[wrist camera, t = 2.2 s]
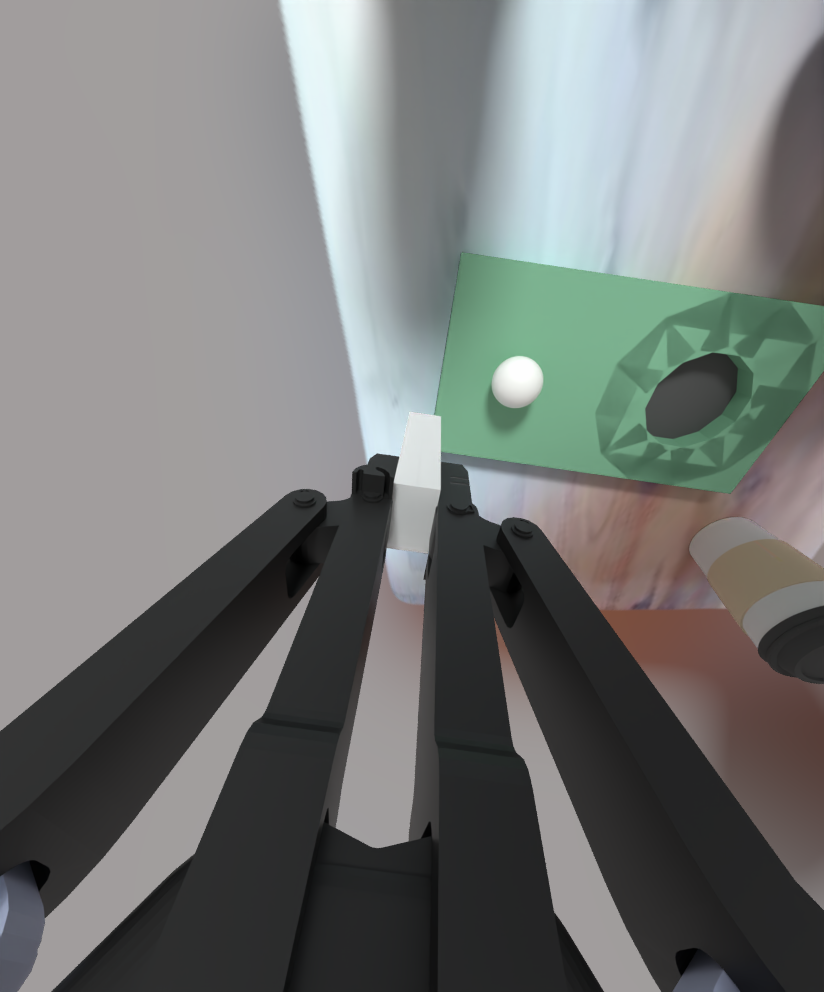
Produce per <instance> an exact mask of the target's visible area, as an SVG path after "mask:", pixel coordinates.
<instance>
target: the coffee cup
mask: <svg viewBox="0 0 824 992" xmlns="http://www.w3.org/2000/svg"><path fill="white" fill-rule="evenodd" d="M689 552H690V554H691V556H692V557H693V559H694V560H695V561H696V563H697V564H698V566H699V567H700V568H701V570H702V571H703V573H704V574H705V575H706V577H707V579H708V582H709V584H710V585H711V587H712V588H713V590H714V591H715V592H716V594H717V595H718V597H719V598H720V600H721V601H722V602H723V604H724V605H725V607H726V608H727V609H728V611H729V612H730V614H731V615H732V617H733V618H734V619H735V621H736V622H737V623H738V625H739V626H740V628H741V629H742V631H743V632H744V633H745V634H746V635H748V636H749V637H750V638H751V640H752V641H753V643H754V644H755V645H756V647H757V648H758V653H759V655H760V657H761V658H762V659H763V660H764V661H766V662H768V664H769V665H770V666H771V668H772V669H773V670H775V671H776V672H778V673H780V674H783V675H786V676H790V677H797V678H799V679H801V680H803V681H805V682H810V683H816V684H824V568H823V567H821V566H820V565H818V564H817V563H815V562H814V561H812V560H811V559H810V558H808V557H807V556H805V555H804V554H802V553H801V552H799V551H798V550H796V549H795V548H794V547H792V546H791V545H789V544H788V543H786V542H784V541H781V540H779V539H778V538H776V537H775V536H773V535H772V534H771V533H769V532H768V531H766V530H765V529H763V528H762V527H760V526H759V525H758V524H756V523H755V522H753V521H752V520H750V519H747V518H743V517H731V518H725V519H721V520H718V521H716V522H713V523H711V524H709V525H707V526H706V527H704V528H703V529H701V530H700V531H699V532H698V533H697V534H696V535H695V536H694V538H693V539H692V541H691V543H690V546H689Z"/></svg>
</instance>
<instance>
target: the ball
mask: <svg viewBox="0 0 824 992" xmlns="http://www.w3.org/2000/svg"><path fill="white" fill-rule="evenodd" d="M542 387H543V373H542V370H541V368H540V367H539V365H538V364H537V363H536V362H535V361H534V360H532V359H531V358H528V357H525V356H515V357H511V358H509V359H507V360H505V361H503V362H502V363H501V364H500V365H499V366H498V367H497V369H496V370H495V372H494V374H493V377H492V391H493V394H494V396H495V398H496V399H497V401H498V402H499V403H501V404H502V405H504V406H506V407H509V408H521V407H525V406H527V405H529V404H530V403H532V402H533V401H534V400H535V399H536V398H537V397H538V395H539V394H540V392H541V390H542Z"/></svg>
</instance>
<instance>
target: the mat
mask: <svg viewBox="0 0 824 992" xmlns="http://www.w3.org/2000/svg"><path fill="white" fill-rule="evenodd" d="M515 356H525V357H528V358H531V359H532V360H534V361H535V362H536V363H537V364H538V365H539V367H540V368H541V370H542V373H543V387H542V390H541V392H540V394H539V395H538V397H537V398H536V399H535V400H534V401H533V402H532V403H530V404H529V405H527V406H525V407H521V408H509V407H506V406H504V405H502V404H501V403H499V402H498V401H497V399H496V398H495V396H494V394H493V391H492V377H493V374H494V372H495V370H496V369H497V367H498V366H499V365H500V364H501V363H502V362H503V361H505V360H507V359H509V358H511V357H515ZM823 371H824V306H820V305H813V304H806V303H799V302H793V301H786V300H779V299H772V298H766V297H759V296H752V295H746V294H739V293H732V292H725V291H719V290H712V289H705V288H698V287H692V286H685V285H678V284H671V283H665V282H658V281H651V280H645V279H638V278H631V277H624V276H618V275H611V274H604V273H597V272H591V271H584V270H577V269H571V268H564V267H557V266H550V265H544V264H537V263H530V262H523V261H517V260H510V259H503V258H496V257H490V256H483V255H476V254H470V253H463V252H462V253H461V257H460V263H459V269H458V275H457V281H456V287H455V293H454V299H453V305H452V311H451V317H450V323H449V329H448V335H447V341H446V347H445V354H444V360H443V366H442V372H441V378H440V384H439V390H438V396H437V402H436V408H435V414H434V415H436V416H441V452H446V453H453V454H460V455H466V456H473V457H480V458H487V459H494V460H501V461H508V462H515V463H522V464H528V465H535V466H542V467H549V468H556V469H563V470H570V471H577V472H583V473H590V474H597V475H604V476H611V477H618V478H625V479H632V480H639V481H645V482H652V483H659V484H666V485H673V486H680V487H687V488H694V489H701V490H707V491H714V492H721V493H728V494H731V492H732V491H733V490H734V488H735V487H736V486H737V484H738V483H739V482H740V481H741V479H742V478H743V477H744V475H745V474H746V473H747V471H748V470H749V469H750V467H751V466H752V465H753V463H754V462H755V461H756V460H757V458H758V457H759V456H760V454H761V453H762V452H763V450H764V449H765V448H766V446H767V445H768V444H769V442H770V441H771V440H772V439H773V437H774V436H775V435H776V433H777V432H778V431H779V429H780V428H781V427H782V425H783V424H784V423H785V421H786V420H787V419H788V417H789V416H790V415H791V414H792V412H793V411H794V410H795V408H796V407H797V406H798V404H799V403H800V402H801V400H802V399H803V398H804V396H805V395H806V394H807V393H808V391H809V390H810V389H811V387H812V386H813V385H814V383H815V382H816V381H817V379H818V378H819V377H820V375H821V374H822V373H823Z"/></svg>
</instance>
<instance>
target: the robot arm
mask: <svg viewBox="0 0 824 992" xmlns="http://www.w3.org/2000/svg"><path fill="white" fill-rule="evenodd" d="M352 473H353V474H352V494H351V497H350V498H348V499H346V500H341V501H329V502H327V501H326V497H325V496H324V494H323V493H320V492H319V491H316V490H311V489H300V490H296V491H293V492H291V493H289V494H287V495H286V496H284V497H283V498H282V499H281V500H279V501H278V502H277V503H276V504H275V505H273V506H272V507H271V508H270V509H269V510H267V511H266V512H265V513H264V514H263V515H262V516H260V517H259V518H258V519H256V520H255V521H254V522H253V523H252V524H250V525H249V526H248V527H247V528H246V529H245V530H243V531H242V532H241V533H240V534H239V535H237V536H236V537H235V538H234V539H232V540H231V541H230V542H229V543H227V544H226V545H225V546H224V547H223V548H221V549H220V550H219V551H218V552H217V553H216V554H214V555H213V556H212V557H211V558H209V559H208V560H207V561H206V562H204V563H203V564H202V565H201V566H200V567H198V568H197V569H196V570H195V571H194V572H192V573H191V574H190V575H189V576H188V577H186V578H185V579H184V580H183V581H182V582H180V583H179V584H178V585H177V586H175V587H174V588H173V589H172V590H171V591H169V592H168V593H167V594H166V595H165V596H163V597H162V598H161V599H160V600H159V601H157V602H156V603H155V604H154V605H152V606H151V607H150V608H149V609H148V610H146V611H145V612H144V613H143V614H142V615H140V616H139V617H138V618H137V619H136V620H134V621H133V622H132V623H131V624H129V625H128V626H127V627H126V628H125V629H123V630H122V631H121V632H120V633H119V634H117V635H116V636H115V637H114V638H113V639H111V640H110V641H109V642H108V643H107V644H105V645H104V646H103V647H102V648H100V649H99V650H98V651H97V652H96V653H94V654H93V655H92V656H91V657H90V658H88V659H87V660H86V661H85V662H84V663H82V664H81V665H80V666H79V667H77V668H76V669H75V670H74V671H73V672H71V673H70V674H69V675H68V676H67V677H65V678H64V679H63V680H62V681H61V682H59V683H58V684H57V685H56V686H55V687H53V688H52V689H51V690H50V691H48V692H47V693H46V694H45V695H44V696H42V697H41V698H40V699H39V700H38V701H36V702H35V703H34V704H33V705H32V706H30V707H29V708H28V709H27V710H25V712H23V713H22V714H21V715H19V716H18V717H17V718H16V719H15V720H13V721H12V722H11V723H10V724H9V725H7V726H6V727H5V728H4V729H3V730H1V731H0V992H17V991H18V990H19V989H20V987H21V986H22V985H23V983H24V981H25V980H26V978H27V977H28V976H29V974H30V972H31V971H32V968H33V965H34V963H35V960H36V957H37V950H38V948H39V945H40V943H41V939H42V934H43V929H44V924H45V918H46V917H47V916H48V915H49V914H50V913H51V912H52V911H53V910H54V909H55V908H56V907H57V906H58V905H59V904H60V903H61V902H62V901H63V900H64V899H66V897H67V896H68V895H69V894H70V893H71V892H72V891H73V890H74V889H75V887H77V886H78V884H79V883H80V882H81V881H82V880H83V879H84V878H85V877H86V876H87V875H88V874H89V873H90V871H91V870H92V869H93V868H94V867H95V866H96V865H97V864H98V863H99V862H100V861H101V859H102V858H103V857H104V856H105V855H106V853H107V852H108V851H109V850H110V849H111V847H112V846H113V845H114V844H115V842H116V841H117V840H118V839H119V838H120V836H121V835H122V834H123V833H124V831H125V830H126V829H127V827H129V825H130V824H131V823H132V822H133V820H134V819H135V818H136V816H137V815H138V814H139V812H140V811H141V810H142V808H143V807H144V806H145V804H146V803H147V802H148V800H149V799H150V798H151V797H152V795H153V794H154V793H155V791H156V790H157V788H158V787H159V786H160V785H161V783H162V782H163V781H164V779H165V778H166V777H167V776H168V774H169V773H170V772H171V770H172V769H173V768H174V766H175V765H176V764H177V762H178V761H179V760H180V758H181V757H182V756H183V754H184V753H185V752H186V751H187V749H188V748H189V747H190V745H191V744H192V743H193V741H194V740H195V739H196V737H197V736H198V735H199V733H200V732H201V731H202V729H203V728H204V727H205V725H206V724H207V723H208V722H209V720H210V719H211V718H212V716H213V715H214V714H215V712H216V711H217V710H218V708H219V707H220V706H221V704H222V703H223V702H224V700H225V699H226V698H227V697H228V695H229V694H230V693H231V691H232V690H233V689H234V687H235V686H236V684H237V683H238V682H239V681H240V679H241V678H242V677H243V675H244V674H245V673H246V672H247V670H248V669H249V668H250V666H251V665H252V664H253V662H254V661H255V660H256V658H257V657H258V656H259V654H260V653H261V652H262V651H263V649H264V648H265V647H266V645H267V644H268V643H269V641H270V640H271V639H272V637H273V636H274V635H275V633H276V632H277V631H278V629H279V628H280V627H281V626H282V624H283V623H284V621H285V620H286V619H287V618H288V616H289V615H290V614H291V612H292V611H293V610H294V608H295V607H296V606H297V604H298V603H299V602H300V600H301V599H302V598H303V597H304V595H305V594H306V592H307V591H308V590H309V589H310V587H311V586H312V585H313V583H314V582H315V581H316V579H317V578H318V577H319V578H318V580H317V583H316V586H315V588H314V591H313V594H312V596H311V598H310V601H309V603H308V606H307V608H306V611H305V613H304V616H303V618H302V621H301V624H300V626H299V628H298V631H297V634H296V636H295V639H294V641H293V644H292V647H291V649H290V651H289V654H288V656H287V659H286V661H285V664H284V667H283V669H282V672H281V674H280V677H279V679H278V682H277V684H276V687H275V689H274V692H273V694H272V697H271V699H270V702H269V704H268V707H267V709H266V711H265V713H264V714H263V716H262V717H261V718H260V719H258V720H257V721H255V722H254V723H253V724H252V725H251V727H250V728H249V730H248V731H247V733H246V735H245V737H244V739H243V742H242V743H241V746H240V748H239V751H238V752H237V755H236V758H235V760H234V762H233V764H232V767H231V769H230V771H229V774H228V776H227V779H226V781H225V783H224V786H223V788H222V790H221V793H220V795H219V798H218V800H217V802H216V805H215V807H214V810H213V812H212V814H211V817H210V819H209V821H208V824H207V826H206V829H205V831H204V833H203V836H202V838H201V841H200V843H199V845H198V848H197V850H196V853H195V854H194V855H193V856H191V857H190V858H189V859H188V860H187V861H185V862H184V863H183V864H182V865H181V866H179V867H178V868H177V869H176V870H174V871H173V872H172V873H171V874H170V875H169V876H168V877H167V878H166V879H165V880H164V881H163V882H162V883H161V884H160V885H159V886H158V887H157V888H156V889H155V890H154V891H153V892H152V893H151V894H150V895H149V896H148V897H147V898H146V899H145V900H144V901H143V902H142V903H141V904H140V905H139V906H138V907H137V908H136V909H135V910H133V912H131V914H129V915H128V917H127V918H125V919H124V921H122V922H121V923H120V924H119V925H118V926H117V927H116V928H115V929H114V930H113V931H112V932H111V933H110V934H109V935H108V936H107V937H106V938H105V939H104V940H103V941H102V942H101V943H100V944H99V945H98V946H97V947H96V948H95V949H94V950H93V951H92V952H91V953H90V954H89V955H88V956H87V957H86V958H85V959H84V960H83V961H82V962H81V963H80V964H79V965H78V966H77V967H76V968H75V969H74V970H73V971H72V972H71V973H70V974H69V975H68V976H67V977H66V978H65V979H64V980H63V981H62V982H61V983H60V984H59V985H58V986H57V987H56V988H55V989H53V991H52V992H604V991H603V989H602V988H601V986H600V984H599V983H598V981H597V980H596V978H595V976H594V975H593V973H592V971H591V970H590V968H589V966H588V965H587V963H586V961H585V960H584V958H583V956H582V955H581V953H580V951H579V950H578V948H577V946H576V945H575V943H574V941H573V940H572V938H571V936H570V935H569V933H568V932H567V930H566V928H565V927H564V925H563V924H562V922H561V921H560V919H559V918H558V917H557V916H556V914H555V913H554V910H553V904H552V899H551V892H550V887H549V881H548V875H547V869H546V863H545V858H544V852H543V847H542V841H541V834H540V829H539V823H538V817H537V811H536V806H535V800H534V794H533V788H532V784H531V779H530V776H529V771H528V768H527V766H526V764H525V761H524V759H523V758H522V757H521V756H520V755H518V754H517V753H516V751H515V749H514V747H513V742H512V738H511V731H510V724H509V718H508V710H507V704H506V697H505V690H504V683H503V677H502V670H501V663H500V656H499V649H498V642H497V636H496V630H495V622H494V618H495V621H496V623H497V625H498V628H499V630H500V633H501V635H502V637H503V640H504V642H505V645H506V647H507V649H508V652H509V654H510V656H511V659H512V661H513V663H514V666H515V668H516V671H517V673H518V675H519V678H520V680H521V682H522V685H523V687H524V690H525V692H526V695H527V697H528V699H529V702H530V704H531V706H532V709H533V711H534V713H535V716H536V718H537V721H538V723H539V725H540V728H541V730H542V732H543V735H544V737H545V740H546V742H547V744H548V747H549V749H550V752H551V754H552V756H553V759H554V761H555V764H556V766H557V768H558V770H559V773H560V775H561V778H562V780H563V783H564V785H565V787H566V790H567V792H568V795H569V797H570V799H571V801H572V804H573V806H574V809H575V811H576V814H577V816H578V818H579V821H580V823H581V826H582V828H583V830H584V833H585V835H586V837H587V839H588V842H589V844H590V847H591V849H592V852H593V854H594V856H595V859H596V861H597V864H598V866H599V868H600V871H601V873H602V876H603V878H604V880H605V883H606V885H607V887H608V889H609V892H610V894H611V896H612V898H613V900H614V902H615V905H616V907H617V909H618V911H619V913H620V916H621V918H622V920H623V922H624V924H625V926H626V929H627V930H628V932H629V934H630V936H631V938H632V940H633V942H634V944H635V946H636V947H637V949H638V951H639V953H640V954H641V957H642V959H643V961H644V962H645V964H646V966H647V968H648V970H649V972H650V973H651V975H652V977H653V979H654V980H655V982H656V984H657V985H658V987H659V989H660V990H661V992H824V910H823V909H822V908H821V907H820V906H819V905H818V904H817V903H816V902H815V901H814V900H813V899H812V898H811V897H810V896H809V895H808V894H807V893H806V891H804V890H803V888H802V887H801V886H800V885H799V884H798V883H797V882H796V881H795V880H794V878H793V877H792V876H791V874H790V873H789V871H788V870H787V869H786V867H785V866H784V865H783V863H782V862H781V861H780V859H779V858H778V856H777V855H776V854H775V852H774V851H773V849H772V848H771V847H770V846H769V844H768V842H767V841H766V840H765V838H764V837H763V836H762V834H761V833H760V832H759V830H758V829H757V827H756V826H755V825H754V823H753V822H752V821H751V819H750V818H749V816H748V815H747V813H746V812H745V811H744V809H743V808H742V807H741V805H740V804H739V802H738V801H737V800H736V798H735V797H734V796H733V794H732V793H731V791H730V790H729V789H728V787H727V786H726V785H725V783H724V782H723V780H722V779H721V778H720V776H719V775H718V774H717V772H716V771H715V769H714V768H713V767H712V765H711V764H710V763H709V761H708V760H707V758H706V757H705V755H704V754H703V753H702V751H701V750H700V749H699V747H698V746H697V744H696V743H695V742H694V740H693V739H692V738H691V736H690V735H689V733H688V732H687V731H686V729H685V728H684V727H683V725H682V724H681V722H680V721H679V720H678V718H677V717H676V716H675V714H674V713H673V711H672V710H671V709H670V707H669V706H668V704H667V703H666V702H665V700H664V699H663V698H662V696H661V695H660V693H659V692H658V691H657V689H656V688H655V687H654V685H653V684H652V682H651V681H650V680H649V678H648V677H647V675H646V674H645V673H644V671H643V670H642V669H641V667H640V666H639V664H638V663H637V662H636V660H635V659H634V657H633V656H632V655H631V653H630V652H629V651H628V649H627V648H626V646H625V645H624V644H623V642H622V641H621V640H620V638H619V637H618V635H617V634H616V633H615V631H614V630H613V628H612V627H611V626H610V624H609V623H608V622H607V620H606V619H605V618H604V616H603V615H602V613H601V612H600V611H599V609H598V608H597V606H596V605H595V604H594V602H593V601H592V599H591V598H590V597H589V595H588V594H587V593H586V591H585V590H584V588H583V587H582V586H581V584H580V583H579V582H578V580H577V579H576V577H575V576H574V575H573V573H572V572H571V570H570V569H569V568H568V566H567V565H566V564H565V562H564V561H563V559H562V558H561V557H560V555H559V554H558V553H557V551H556V550H555V548H554V547H553V546H552V544H551V543H550V541H549V540H548V539H547V537H546V536H545V535H544V533H543V532H542V530H541V529H540V528H539V527H538V526H537V525H535V524H533V523H532V522H530V521H528V520H525V519H522V518H514V517H513V518H507V519H505V520H504V521H502V524H501V526H500V525H498V524H495V523H492V522H489V521H487V520H485V519H483V518H482V517H480V516H479V513H478V510H477V508H476V506H475V505H473V504H472V500H471V492H470V486H469V477H468V471H467V470H466V469H465V468H464V467H463V465H459V464H452V463H446V462H441V416H436V415H429V414H422V413H415V412H409V417H408V421H407V425H406V430H405V434H404V439H403V443H402V448H401V452H400V457H397V456H391V455H384V454H376V455H374V456H373V457H372V458H370V460H369V462H368V465H363V466H360V467H358V468H356V469H355V470H354V471H353V472H352ZM386 548H391V549H398V550H405V551H412V552H419V553H426V554H428V551H429V555H428V560H427V564H426V569H425V574H424V580H426V584H425V602H424V623H423V639H422V657H421V658H422V659H421V675H420V676H421V677H420V694H419V712H418V731H417V749H416V766H415V785H414V798H413V805H412V813H411V820H410V829H409V842H405V843H400V844H396V845H392V846H388V847H383V848H372V847H370V846H368V845H366V844H364V843H362V842H360V841H359V840H357V839H355V838H353V837H351V836H349V835H347V834H345V833H344V832H342V831H340V830H338V829H336V828H335V827H336V822H337V815H338V809H339V803H340V796H341V789H342V783H343V778H344V772H345V767H346V762H347V756H348V751H349V746H350V740H351V735H352V730H353V725H354V719H355V715H356V709H357V704H358V698H359V693H360V688H361V683H362V678H363V673H364V667H365V662H366V657H367V651H368V646H369V641H370V636H371V631H372V625H373V620H374V614H375V609H376V605H377V599H378V594H379V589H380V584H381V578H382V573H383V568H384V563H385V557H386Z"/></svg>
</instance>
